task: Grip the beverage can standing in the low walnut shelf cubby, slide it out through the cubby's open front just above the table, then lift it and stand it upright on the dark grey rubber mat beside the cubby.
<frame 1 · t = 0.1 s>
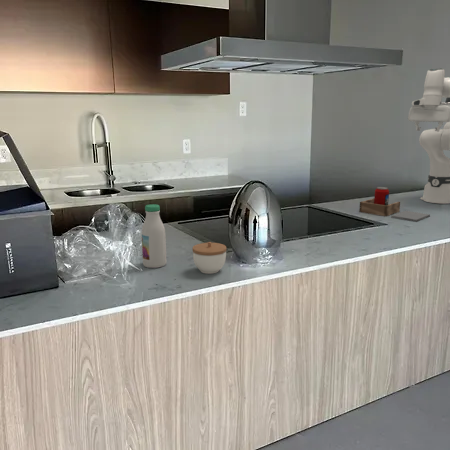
hand: (427, 131, 230), 39 cm above the worktop, tool pointing down, fingers open, 8 cm apart
shelf cubby: (380, 211, 231), on the worktop
rubber mat: (410, 217, 219), on the worktop
beverage can: (380, 211, 231), resting in shelf cubby
lidded jar: (209, 271, 148), on the worktop
milk bottle: (154, 265, 153), on the worktop
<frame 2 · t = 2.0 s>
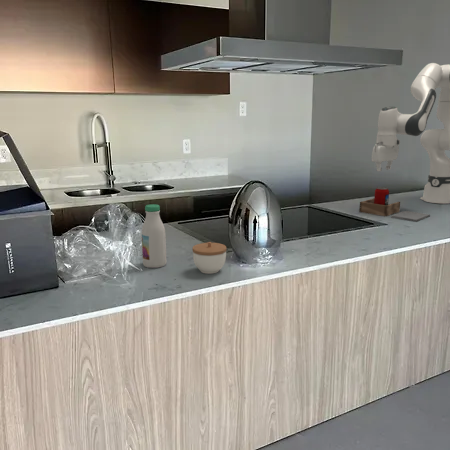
hand: (383, 170, 226), 21 cm above the worktop, tool pointing down, fingers open, 8 cm apart
nothing on the worktop moved.
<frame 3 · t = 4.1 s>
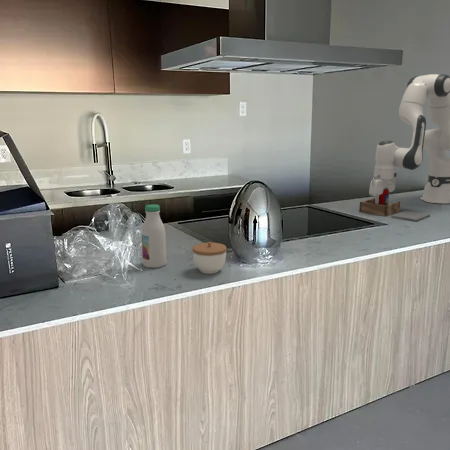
hand: (381, 202, 230), 5 cm above the worktop, tool pointing down, fingers closed on beverage can, 7 cm apart
beverage can: (380, 211, 231), resting in shelf cubby, touching gripper
everything else where it was.
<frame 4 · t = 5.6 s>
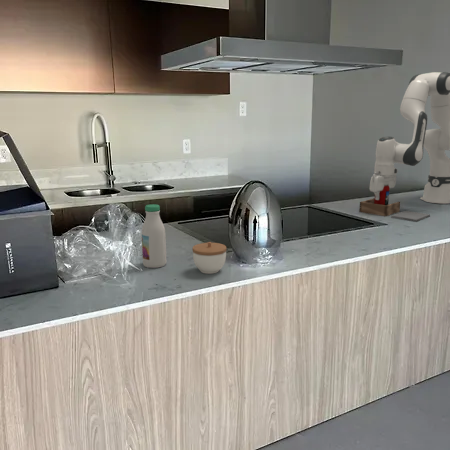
hand: (381, 198, 230), 6 cm above the worktop, tool pointing down, fingers closed on beverage can, 7 cm apart
beverage can: (380, 208, 231), point 1 cm above the worktop, touching gripper
everything else where it was.
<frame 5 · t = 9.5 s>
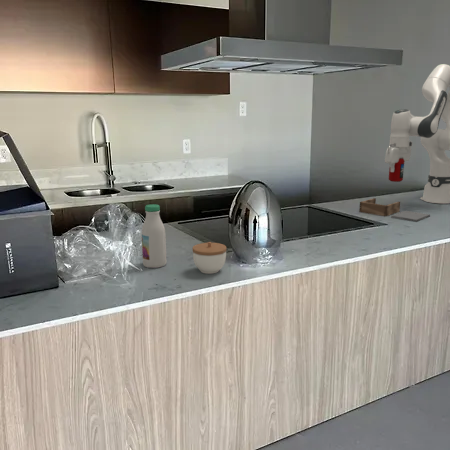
hand: (396, 171, 233), 19 cm above the worktop, tool pointing down, fingers closed on beverage can, 7 cm apart
beverage can: (395, 181, 234), point 14 cm above the worktop, touching gripper
everything else where it was.
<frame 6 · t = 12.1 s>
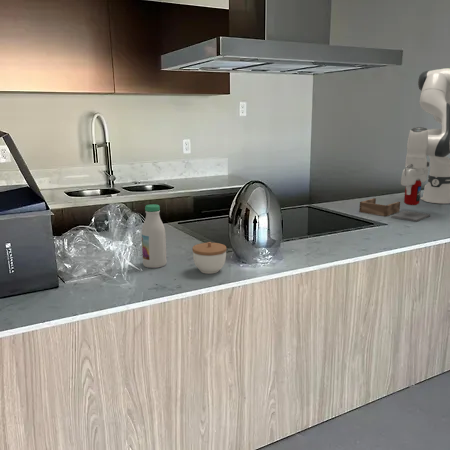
hand: (412, 193, 216), 11 cm above the worktop, tool pointing down, fingers closed on beverage can, 7 cm apart
beverage can: (411, 204, 218), point 6 cm above the worktop, touching gripper
everything else where it was.
when the fingers open (7 cm above the worktop, at t = 13.9 s): beverage can stays where it is, resting on rubber mat.
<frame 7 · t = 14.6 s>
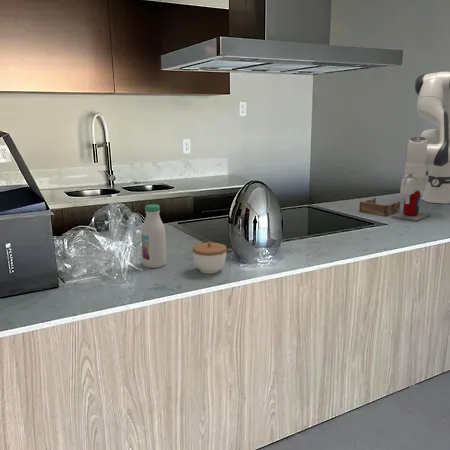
hand: (412, 202, 217), 7 cm above the worktop, tool pointing down, fingers open, 8 cm apart
beverage can: (410, 215, 219), point 1 cm above the worktop, touching rubber mat
everything else where it was.
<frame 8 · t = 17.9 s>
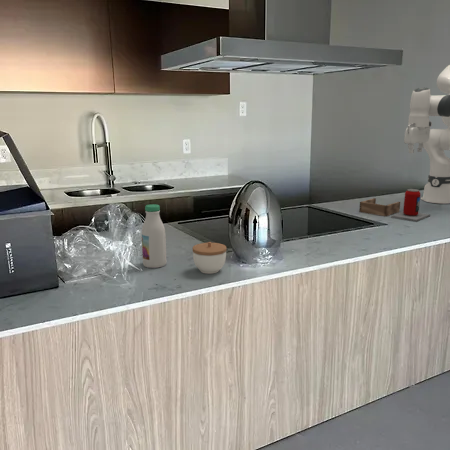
hand: (415, 152, 225), 29 cm above the worktop, tool pointing down, fingers open, 8 cm apart
nothing on the worktop moved.
at the end: beverage can inside the target area on the rubber mat (0.2 cm from its centre), point 0.8 cm above the rubber mat's base; beverage can tilted 0°; the gripper is holding nothing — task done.
